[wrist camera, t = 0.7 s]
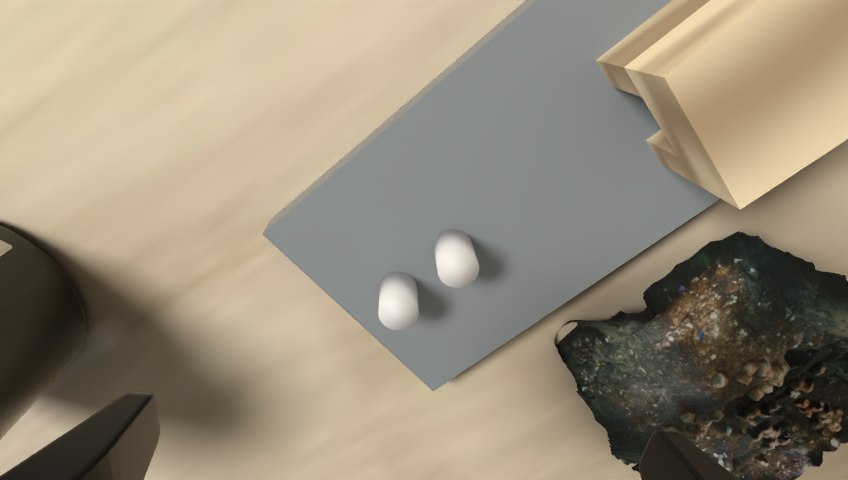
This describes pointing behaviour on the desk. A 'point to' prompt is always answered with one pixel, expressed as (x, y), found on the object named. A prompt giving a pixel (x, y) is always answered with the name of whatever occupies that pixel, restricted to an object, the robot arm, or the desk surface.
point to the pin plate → (492, 192)
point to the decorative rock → (724, 361)
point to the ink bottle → (33, 325)
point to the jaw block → (739, 88)
